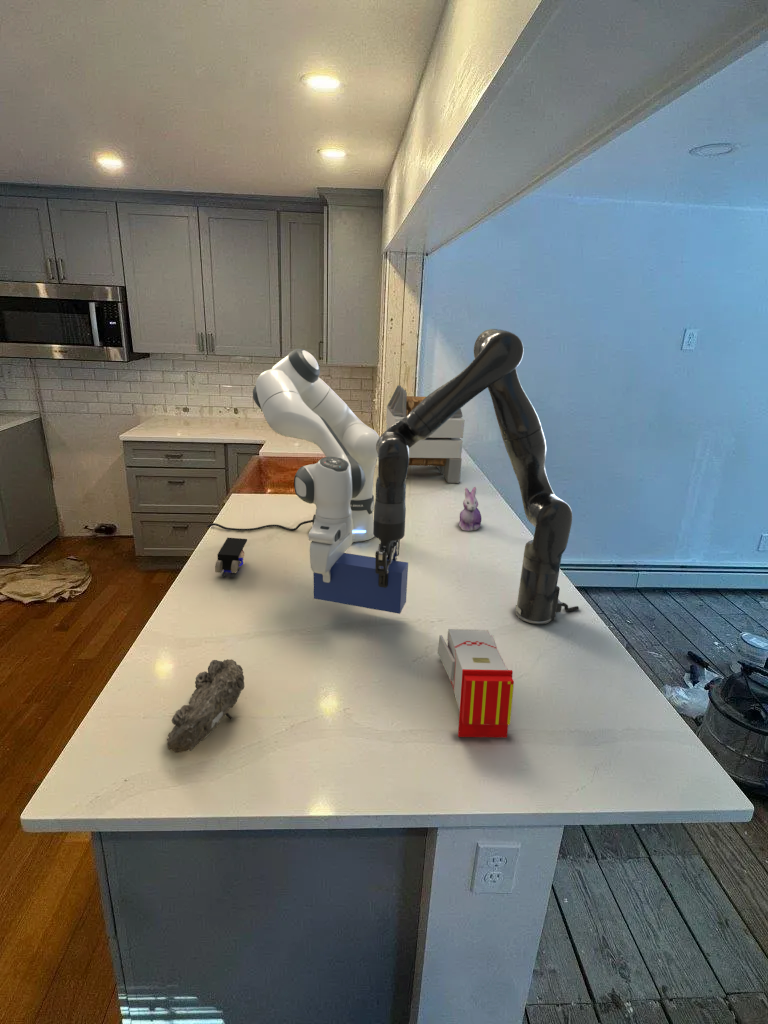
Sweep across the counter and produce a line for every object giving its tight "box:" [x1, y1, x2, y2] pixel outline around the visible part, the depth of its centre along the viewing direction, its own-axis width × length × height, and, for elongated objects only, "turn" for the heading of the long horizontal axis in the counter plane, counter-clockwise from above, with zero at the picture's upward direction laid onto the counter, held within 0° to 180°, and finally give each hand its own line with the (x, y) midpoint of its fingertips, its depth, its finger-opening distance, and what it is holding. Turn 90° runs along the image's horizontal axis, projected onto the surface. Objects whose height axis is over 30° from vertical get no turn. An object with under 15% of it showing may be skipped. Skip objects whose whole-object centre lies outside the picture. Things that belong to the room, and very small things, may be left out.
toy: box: [437, 628, 515, 738], centre depth 117 cm, size 12×13×30 cm
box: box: [312, 552, 409, 615], centre depth 142 cm, size 23×6×11 cm, turn 74°
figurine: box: [458, 486, 482, 532], centre depth 206 cm, size 9×10×15 cm
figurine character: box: [214, 537, 248, 578], centre depth 166 cm, size 7×8×15 cm
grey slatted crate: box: [385, 384, 465, 484], centre depth 268 cm, size 34×33×41 cm
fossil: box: [166, 658, 245, 754], centre depth 106 cm, size 22×10×15 cm
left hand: (332, 574), depth 144 cm, fingers closed on box, 6 cm apart
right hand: (386, 580), depth 140 cm, fingers closed on box, 6 cm apart
